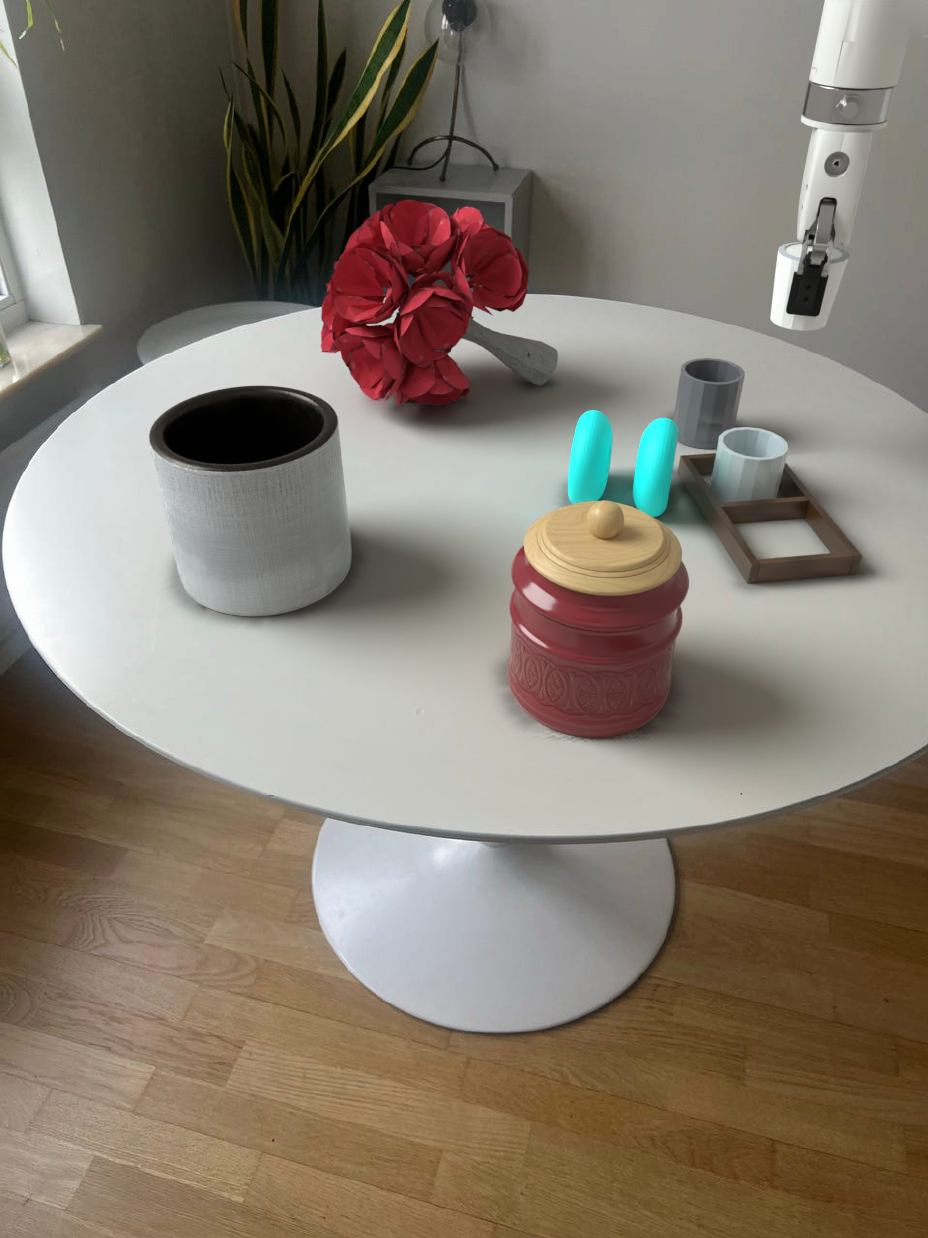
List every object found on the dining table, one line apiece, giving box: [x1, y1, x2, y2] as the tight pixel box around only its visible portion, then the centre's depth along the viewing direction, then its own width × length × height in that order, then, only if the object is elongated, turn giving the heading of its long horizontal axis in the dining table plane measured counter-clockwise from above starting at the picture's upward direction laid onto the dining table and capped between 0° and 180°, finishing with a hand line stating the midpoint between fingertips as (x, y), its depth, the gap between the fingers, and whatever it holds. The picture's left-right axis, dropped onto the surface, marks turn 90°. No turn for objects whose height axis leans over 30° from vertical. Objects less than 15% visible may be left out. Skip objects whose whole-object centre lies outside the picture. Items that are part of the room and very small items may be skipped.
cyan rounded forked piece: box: [567, 409, 678, 518], centre depth 95 cm, size 10×10×10 cm
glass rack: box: [677, 452, 863, 585], centre depth 93 cm, size 11×20×3 cm, turn 8°
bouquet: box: [320, 199, 559, 409], centre depth 113 cm, size 22×24×30 cm
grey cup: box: [672, 357, 746, 450], centre depth 107 cm, size 7×7×8 cm
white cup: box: [769, 241, 850, 332], centre depth 95 cm, size 7×7×7 cm
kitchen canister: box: [506, 500, 690, 739], centre depth 70 cm, size 13×13×18 cm
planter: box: [148, 385, 353, 617], centre depth 84 cm, size 16×16×16 cm
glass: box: [708, 426, 789, 503], centre depth 96 cm, size 7×7×7 cm
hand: (802, 299), depth 95 cm, fingers closed on white cup, 6 cm apart
